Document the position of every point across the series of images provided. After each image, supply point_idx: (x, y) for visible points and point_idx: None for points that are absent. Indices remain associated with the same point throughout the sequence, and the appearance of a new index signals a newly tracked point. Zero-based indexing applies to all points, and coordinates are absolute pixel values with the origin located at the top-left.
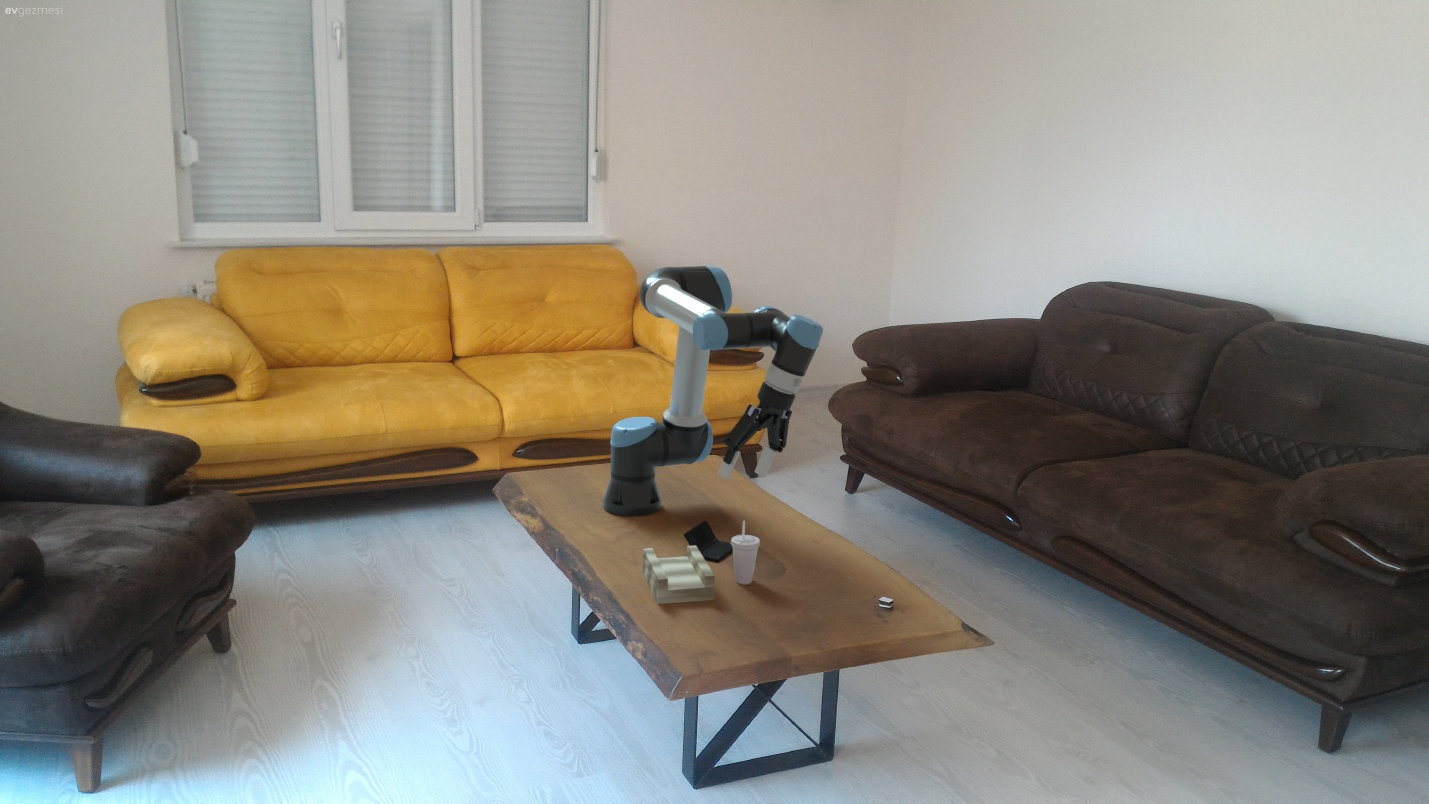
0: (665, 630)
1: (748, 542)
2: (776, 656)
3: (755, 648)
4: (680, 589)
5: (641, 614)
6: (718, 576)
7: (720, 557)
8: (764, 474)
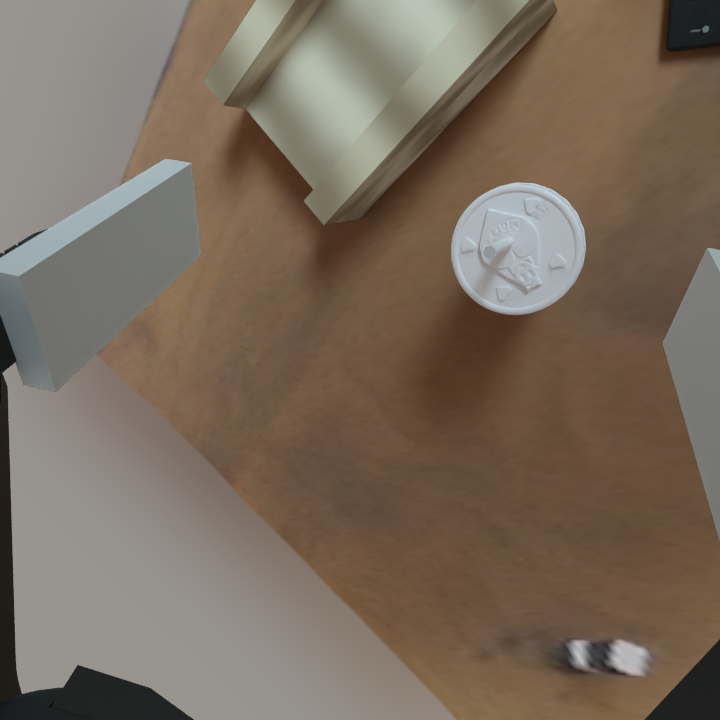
0: None
1: (493, 274)
2: (211, 462)
3: (212, 415)
4: (272, 140)
5: (186, 94)
6: (531, 135)
7: (699, 44)
8: (668, 359)
